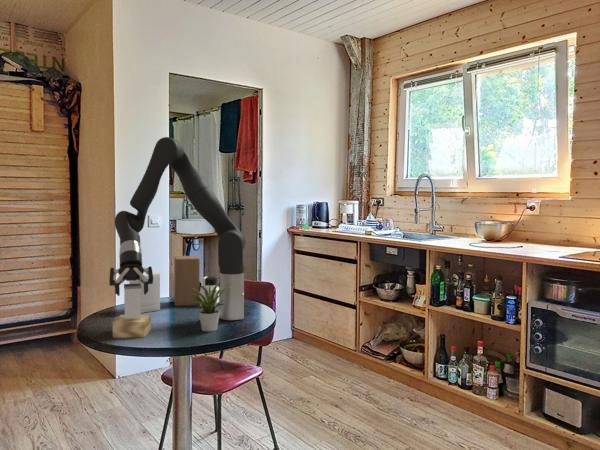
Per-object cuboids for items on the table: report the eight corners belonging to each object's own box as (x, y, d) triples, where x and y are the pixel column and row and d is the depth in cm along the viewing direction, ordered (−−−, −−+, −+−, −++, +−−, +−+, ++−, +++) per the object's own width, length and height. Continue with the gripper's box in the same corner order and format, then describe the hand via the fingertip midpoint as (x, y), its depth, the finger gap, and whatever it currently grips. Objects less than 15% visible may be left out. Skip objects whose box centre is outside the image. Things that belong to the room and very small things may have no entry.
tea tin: (140, 315, 159) (140, 283, 158) (141, 319, 154) (141, 286, 154) (124, 316, 157) (124, 284, 157) (124, 320, 152) (124, 286, 152)
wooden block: (174, 301, 205) (174, 256, 204) (197, 300, 208) (197, 255, 207) (175, 306, 196) (175, 258, 195) (199, 305, 199) (199, 258, 198)
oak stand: (151, 328, 161) (151, 314, 161) (144, 337, 151) (144, 321, 151) (121, 329, 160) (120, 314, 160) (112, 337, 150) (112, 322, 150)
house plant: (228, 322, 172) (228, 277, 171) (237, 332, 159) (237, 284, 158) (188, 325, 167) (189, 279, 166) (194, 335, 154) (195, 286, 153)
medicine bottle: (219, 302, 204) (219, 275, 203) (216, 306, 197) (217, 278, 196) (202, 302, 203) (202, 275, 203) (199, 306, 196) (199, 278, 196)
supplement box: (160, 310, 188) (160, 273, 188) (139, 314, 182) (139, 275, 181) (149, 306, 195) (149, 270, 194) (128, 310, 188) (128, 273, 187)
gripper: (109, 249, 163) (109, 288, 153) (152, 249, 168) (154, 286, 158) (109, 263, 168) (109, 301, 158) (150, 261, 174) (153, 298, 164)
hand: (132, 293), depth 158 cm, fingers open, 8 cm apart
